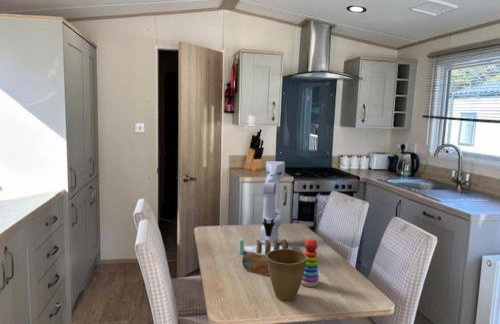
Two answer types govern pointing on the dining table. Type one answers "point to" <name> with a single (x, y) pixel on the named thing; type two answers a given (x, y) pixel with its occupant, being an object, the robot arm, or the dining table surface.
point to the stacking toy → (310, 264)
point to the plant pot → (286, 272)
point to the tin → (256, 263)
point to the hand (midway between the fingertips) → (268, 233)
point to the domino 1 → (241, 245)
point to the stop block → (296, 248)
